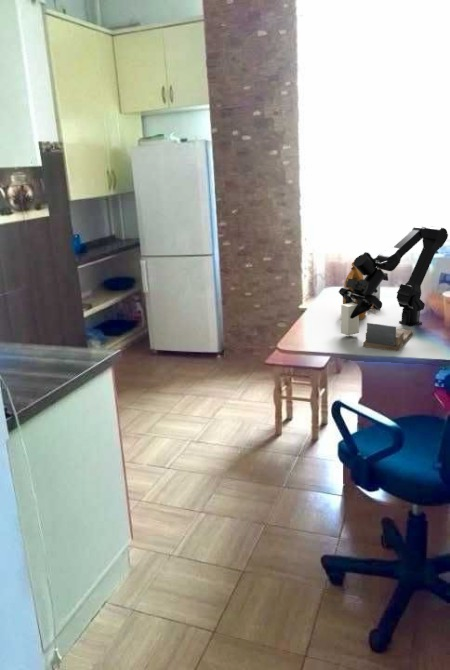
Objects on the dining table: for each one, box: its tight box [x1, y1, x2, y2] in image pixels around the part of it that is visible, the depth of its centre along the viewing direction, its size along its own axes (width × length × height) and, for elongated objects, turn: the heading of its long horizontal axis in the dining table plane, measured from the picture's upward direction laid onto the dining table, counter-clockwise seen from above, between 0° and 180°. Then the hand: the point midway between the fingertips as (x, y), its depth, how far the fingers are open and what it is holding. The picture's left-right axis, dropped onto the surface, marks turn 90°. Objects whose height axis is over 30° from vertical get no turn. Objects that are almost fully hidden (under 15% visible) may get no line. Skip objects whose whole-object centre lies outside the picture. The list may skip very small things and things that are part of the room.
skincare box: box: [371, 283, 381, 309], centre depth 244 cm, size 6×4×12 cm
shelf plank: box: [362, 328, 413, 352], centre depth 201 cm, size 20×12×4 cm, turn 148°
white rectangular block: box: [340, 303, 360, 336], centre depth 205 cm, size 5×4×11 cm
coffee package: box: [342, 261, 367, 320], centre depth 231 cm, size 10×12×22 cm
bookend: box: [366, 322, 397, 346], centre depth 192 cm, size 1×10×7 cm, turn 59°
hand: (347, 316), depth 204 cm, fingers closed on white rectangular block, 4 cm apart
